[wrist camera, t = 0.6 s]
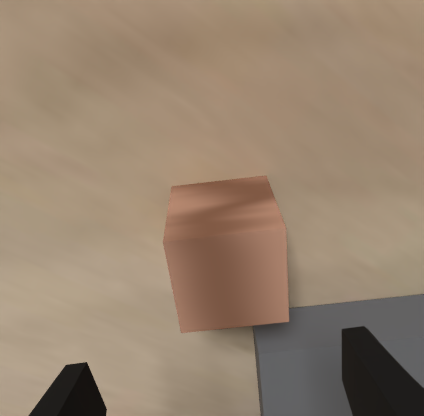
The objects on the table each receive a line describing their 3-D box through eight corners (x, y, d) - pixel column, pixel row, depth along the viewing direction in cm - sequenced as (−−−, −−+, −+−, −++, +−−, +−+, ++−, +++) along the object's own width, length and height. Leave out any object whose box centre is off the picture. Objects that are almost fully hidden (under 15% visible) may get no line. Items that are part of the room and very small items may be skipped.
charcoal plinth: (466, 289, 22) (502, 329, 20) (435, 425, 28) (460, 471, 25) (251, 312, 23) (258, 353, 20) (263, 442, 28) (269, 488, 25)
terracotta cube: (265, 175, 19) (286, 228, 14) (270, 254, 21) (289, 321, 16) (171, 185, 19) (162, 241, 15) (185, 263, 21) (181, 332, 17)
